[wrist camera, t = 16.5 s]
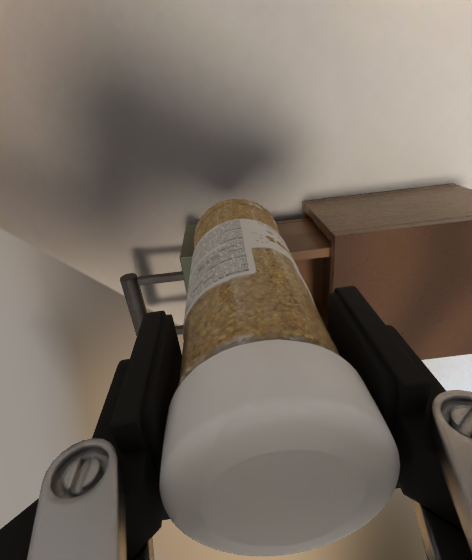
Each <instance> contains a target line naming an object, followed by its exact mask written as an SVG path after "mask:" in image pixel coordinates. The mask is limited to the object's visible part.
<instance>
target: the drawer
mask: <svg viewBox="0 0 472 560" xmlns="http://www.w3.org/2000/svg"><path fill="white" fill-rule="evenodd" d="M276 224H277V226H278V231H279V234H280V236H281V237H282V239H283V240H284V242H285V243H286V245H287V247H288V249H289V251H290V253H291V255H292V257H293V259H294V261H295V263H296V265H297V267H298V269H299V271H300V273H301V275H302V277H303V279H304V281H305V283H306V285H307V287H308V289H309V291H310V293H311V296H312V298H313V301H314V303H315V305H316V308H317V310H318V312H319V314H320V316H321V318H322V320H323V322H324V324H325V326H326V328H327V316H328V294H330V267H331V242H330V240H329V239H328V238H327V237H326V236H325V235H324V233H323V232H322V231H321V230H320V229H319V228H318V226H317V225H316V224H315V223H314V222H313V221H312V219H311V218H303V219H294V220H286V221H277V222H276ZM196 225H197V223H189V224H187V225H186V230H185V235H184V240H183V245H182V250H181V255H180V261H181V266H182V271H181V272H173V273H164V274H156V275H147V276H139V277H137V275H136V274H134V273H130V274H126V275H123V276H122V277H121V278H120V281H121V285H122V288H123V291H124V295H125V298H126V301H127V305H128V308H129V312H130V315H131V318H132V322H133V325H134V328H135V332H136V335H138V332H139V329H140V326H141V322H142V319H143V316H144V314H145V313H147V311H146V307H145V304H144V300H143V296H142V292H141V289H140V285H146V284H155V283H163V282H172V281H180V280H184V282H185V287H186V292H187V294H188V286H189V278H190V271H191V264H192V257H193V254H194V250H195V249H194V234H195V229H196ZM183 326H184V325H181V326H175V329H176V333H177V335H178V334H183Z"/></svg>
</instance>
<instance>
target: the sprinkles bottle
mask: <svg viewBox="0 0 472 560" xmlns="http://www.w3.org/2000/svg"><path fill="white" fill-rule="evenodd" d="M194 249H195V250H194V254H193V257H192V264H191V271H190V278H189V286H188V294H187V302H186V310H185V318H184V326H183V339H184V345H183V353H182V360H181V371H180V381H179V384H178V387H177V389H176V391H175V393H174V396H173V398H172V400H171V403H170V405H169V410H168V416H167V421H166V427H165V434H164V442H163V450H162V460H161V470H160V483H159V489H160V495H161V500H162V503H163V506H164V509H165V511H166V512H167V514H168V516H169V518H170V519H171V520H172V522H173V523H174V524H175V525H176V526H177V527H178V528H179V529H180V530H181V531H182V532H183V533H184V534H186V535H187V536H189V537H190V538H192V539H193V540H195V541H197V542H199V543H201V544H203V545H205V546H208V547H210V548H213V549H216V550H220V551H223V552H228V553H233V554H238V555H246V556H275V555H287V554H293V553H299V552H304V551H308V550H311V549H315V548H318V547H322V546H325V545H328V544H330V543H333V542H335V541H337V540H339V539H341V538H344V537H346V536H348V535H349V534H351V533H353V532H355V531H357V530H358V529H360V528H361V527H363V526H364V525H365V524H367V523H368V522H369V521H370V520H371V519H373V518H374V517H375V516H376V515H377V514H378V513H379V512H380V511H381V510H382V509H383V507H384V506H385V505H386V504H387V502H388V501H389V499H390V498H391V496H392V494H393V492H394V490H395V488H396V485H397V482H398V477H399V472H400V460H399V453H398V449H397V446H396V443H395V441H394V438H393V436H392V434H391V432H390V430H389V428H388V426H387V424H386V422H385V420H384V418H383V416H382V414H381V412H380V410H379V409H378V407H377V405H376V403H375V401H374V399H373V398H372V396H371V394H370V392H369V390H368V389H367V387H366V385H365V383H364V381H363V380H362V378H361V377H360V375H359V374H358V373H357V371H356V370H355V369H354V368H353V367H352V366H351V365H350V364H349V363H348V362H347V361H346V360H344V359H343V358H342V357H341V356H340V355H339V353H338V350H337V348H336V346H335V344H334V342H333V341H332V339H331V336H330V334H329V332H328V331H327V328H326V326H325V324H324V322H323V320H322V318H321V316H320V314H319V312H318V310H317V308H316V305H315V303H314V301H313V298H312V296H311V293H310V291H309V289H308V287H307V285H306V283H305V281H304V279H303V277H302V275H301V273H300V271H299V269H298V267H297V265H296V263H295V261H294V259H293V257H292V255H291V253H290V251H289V249H288V247H287V245H286V243H285V242H284V240H283V239H282V237H281V236H280V234H279V231H278V226H277V224H276V222H275V220H274V218H273V217H272V216H271V214H270V213H269V212H268V211H267V210H266V209H264V208H263V207H262V206H260V205H259V204H257V203H255V202H252V201H249V200H245V199H241V200H240V199H232V200H227V201H222V202H219V203H217V204H216V205H214V206H213V207H211V208H210V209H208V210H207V211H206V212H205V213H204V214H203V215H202V217H201V218H200V220H199V222H198V223H197V225H196V229H195V234H194Z"/></svg>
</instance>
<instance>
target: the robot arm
mask: <svg viewBox="0 0 472 560" xmlns="http://www.w3.org/2000/svg"><path fill="white" fill-rule="evenodd" d="M327 331H328V332H329V334H330V336H331V339H332V341H333V342H334V344H335V346H336V348H337V350H338V353H339V355H340V356H341V357H342V358H343V359H344V360H346V361H347V362H348V363H349V364H350V365H351V366H352V367H353V368H354V369H355V370H356V371H357V373H358V374H359V375H360V377H361V378H362V380H363V381H364V383H365V385H366V387H367V389H368V390H369V392H370V394H371V396H372V398H373V399H374V401H375V403H376V405H377V407H378V409H379V410H380V412H381V414H382V416H383V418H384V420H385V422H386V424H387V426H388V428H389V430H390V432H391V434H392V436H393V438H394V441H395V443H396V446H397V449H398V453H399V460H400V472H399V477H398V482H397V485H396V488H401V490H402V492H403V494H404V495H406V496H408V497H409V498H411V499H412V500H413V505H414V509H415V513H416V517H417V521H418V525H419V529H420V533H421V536H422V540H423V544H424V548H425V552H426V556H427V560H472V392H469V391H462V390H451V391H446V390H445V389H444V388H443V387H442V385H441V384H440V383H439V382H438V380H437V379H436V378H435V377H434V376H433V374H432V373H431V372H430V371H429V369H428V368H427V367H426V366H425V364H424V363H423V362H422V361H421V360H420V358H419V357H418V356H417V355H416V353H415V352H414V351H413V350H412V348H411V347H410V346H409V345H408V344H407V342H406V341H405V340H404V339H403V337H402V336H401V335H400V334H399V333H398V331H397V330H396V329H395V328H394V327H393V326H391V325H385V323H384V322H383V321H382V320H381V318H380V317H379V316H378V315H377V313H376V312H375V311H374V309H373V308H372V307H371V306H370V304H369V303H368V302H367V301H366V299H365V298H364V297H363V295H362V294H361V293H360V292H359V290H358V289H357V288H356V287H355V286H347V287H339V288H335V289H334V293H330V294H328V316H327ZM181 360H182V354H181V350H180V346H179V342H178V337H177V333H176V329H175V325H174V321H173V317H172V315H166V314H165V312H164V311H157V312H150V313H145V314H144V316H143V319H142V322H141V326H140V329H139V332H138V335H137V339H136V342H135V345H134V348H133V351H132V354H131V358H130V359H126V360H122V361H120V362H119V364H118V366H117V369H116V372H115V375H114V378H113V381H112V384H111V386H110V389H109V392H108V395H107V398H106V400H105V403H104V406H103V409H102V412H101V415H100V417H99V420H98V423H97V426H96V429H95V432H94V435H93V437H92V439H88V440H83V441H81V442H78V443H76V444H74V445H72V446H70V447H69V448H68V449H66V450H65V451H63V452H62V453H61V454H60V455H59V456H58V457H57V458H56V459H55V460H54V461H53V462H52V464H51V465H50V467H49V468H48V470H47V471H46V473H45V476H44V479H43V482H42V486H41V491H40V496H39V499H37V500H36V501H35V502H34V503H32V504H31V505H30V506H29V507H27V508H26V509H25V510H24V511H23V512H21V513H20V514H19V515H18V516H16V517H15V518H14V519H13V520H11V521H10V522H9V523H8V524H7V525H5V526H4V527H3V528H2V529H0V560H154V550H153V539H152V537H153V535H154V534H155V533H156V532H157V531H158V530H159V528H161V524H162V520H167V519H170V518H169V516H168V514H167V512H166V511H165V509H164V506H163V503H162V500H161V495H160V489H159V483H160V470H161V460H162V450H163V442H164V434H165V427H166V421H167V416H168V410H169V405H170V403H171V400H172V398H173V396H174V393H175V391H176V389H177V387H178V384H179V381H180V371H181Z"/></svg>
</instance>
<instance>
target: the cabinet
mask: <svg viewBox="0 0 472 560" xmlns="http://www.w3.org/2000/svg"><path fill="white" fill-rule="evenodd" d="M303 218H311V219H312V221H313V222H314V223H315V224H316V225H317V226H318V228H319V229H320V230H321V231H322V232H323V233H324V235H325V236H326V237H327V238H328V239H329V240H330V242H331V267H330V293H334V289H335V288H339V287H347V286H355V287H356V288H357V289H358V290H359V292H360V293H361V294H362V295H363V297H364V298H365V299H366V301H367V302H368V303H369V304H370V306H371V307H372V308H373V309H374V311H375V312H376V313H377V315H378V316H379V317H380V318H381V320H382V321H383V322H384V323H385V325H391V326H393V327H394V328H395V329H396V330H397V331H398V333H399V334H400V335H401V336H402V337H403V339H404V340H405V341H406V342H407V344H408V345H409V346H410V347H411V348H412V350H413V351H414V352H415V353H416V355H417V356H418V357H419V358H420V360H424V359H432V358H441V357H449V356H457V355H465V354H472V190H471V189H468V188H465V187H462V186H459V185H456V184H447V185H438V186H429V187H421V188H412V189H404V190H395V191H386V192H378V193H369V194H360V195H352V196H343V197H335V198H326V199H317V200H309V201H303Z"/></svg>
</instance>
